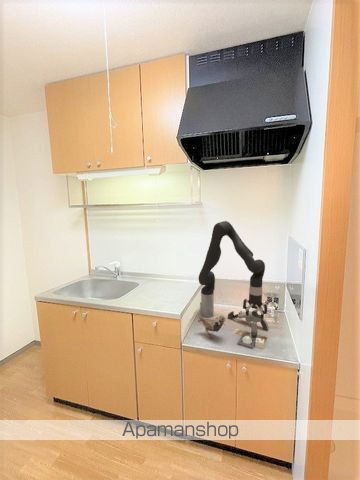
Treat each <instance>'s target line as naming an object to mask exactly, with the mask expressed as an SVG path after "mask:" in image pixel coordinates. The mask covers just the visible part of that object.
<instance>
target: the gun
mask: <svg viewBox="0 0 360 480" xmlns="http://www.w3.org/2000/svg"><path fill="white" fill-rule="evenodd" d="M258 311H259V310H258V309H254V310H251V311H250V310H249V315H248V316H247V315H246V311H244V312H243V311H242V310H239V312H238V313H236V314H234V313H235V311H230V312H229V313H228V314H227V319H228V320H231V321H234V322H235V321H236V319H245V321H246V322H247V323H249V324H250V325H252V323H256V324H257V325H258V323H260V324H261V326H262V330H263V331H266V332H267V331H269V325H268V322H267V320H266V319H265V317H264V318H263V319H262V320H261V314H259V313H258Z"/></svg>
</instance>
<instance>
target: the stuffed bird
mask: <svg viewBox="0 0 360 480" xmlns="http://www.w3.org/2000/svg"><path fill="white" fill-rule="evenodd" d="M225 321H226V316H225V315H223V314H220V315H219V316H217V317H215V318H213V319H212V318H203V317H200V316H198V319H197V322H198V323H199V324H201V325H203V326H204V328H205V332H206V333H207V335H208V337H209V339H210V340H211V339H215V338H214V337H212V333H210V332H216V333H217V332H219V331H220V330H221V329H222V326H223V325H224V326H226V324H225V323H224V322H225Z"/></svg>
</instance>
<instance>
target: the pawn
mask: <svg viewBox="0 0 360 480" xmlns="http://www.w3.org/2000/svg"><path fill="white" fill-rule="evenodd" d="M251 324H252V325H251ZM251 324H250V325H251V327H250V329H251V331H250V333H251V337H253V338H257V334H258V323H257V324H256V322H251Z"/></svg>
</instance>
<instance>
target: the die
mask: <svg viewBox="0 0 360 480" xmlns="http://www.w3.org/2000/svg"><path fill="white" fill-rule="evenodd" d="M254 347H255V348H258V349H262V350H264V348H265V342H264V339H261V338H256V342H255V346H254Z"/></svg>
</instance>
